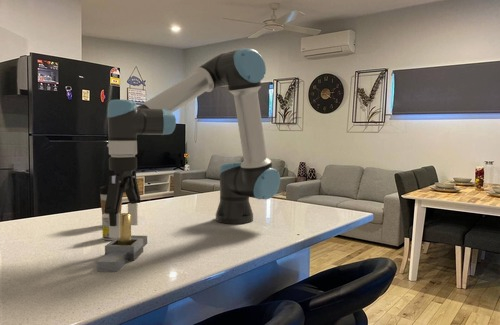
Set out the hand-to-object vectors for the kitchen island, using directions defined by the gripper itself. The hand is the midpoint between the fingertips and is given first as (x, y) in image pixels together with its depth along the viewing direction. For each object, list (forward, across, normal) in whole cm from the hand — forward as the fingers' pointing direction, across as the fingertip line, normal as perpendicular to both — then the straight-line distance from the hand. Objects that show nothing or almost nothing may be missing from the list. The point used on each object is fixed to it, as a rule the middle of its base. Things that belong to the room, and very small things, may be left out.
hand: (124, 231), depth 108 cm
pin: (+7, 0, 0) cm, 7 cm away
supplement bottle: (+7, -17, -11) cm, 22 cm away
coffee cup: (+7, -34, -18) cm, 39 cm away
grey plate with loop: (+7, 0, 0) cm, 7 cm away
